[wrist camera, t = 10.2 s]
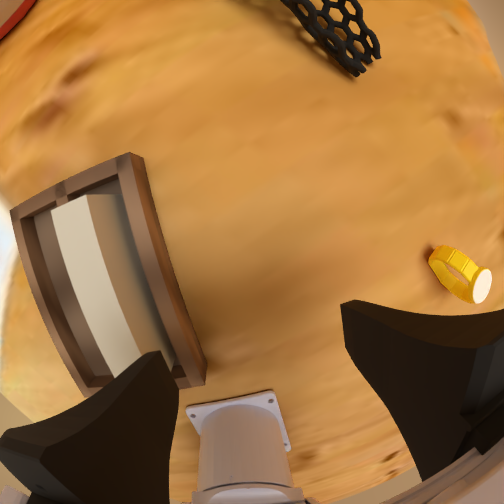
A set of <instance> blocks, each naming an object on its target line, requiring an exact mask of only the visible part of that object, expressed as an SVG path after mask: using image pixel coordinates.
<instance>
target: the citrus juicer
mask: <svg viewBox="0 0 504 504" xmlns="http://www.w3.org/2000/svg"><path fill="white" fill-rule="evenodd" d="M35 1H36V0H0V39H2V38H3V37H4V36H5V35H6V34H7V33H8V32H9V31H10V30H11V29H12V28H13V27H14V26H15V25H16V24H17V23H18V22H19V21H20V20H21V19H22V18H23V17H24V16H25V15H26V13H27V11H28V10H29V9H30V7H31V6H32V5H33V3H34V2H35Z"/></svg>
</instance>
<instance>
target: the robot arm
mask: <svg viewBox="0 0 504 504" xmlns="http://www.w3.org/2000/svg"><path fill="white" fill-rule="evenodd" d="M340 307H341V315H342V323H343V331H344V340H345V348H346V349H347V351H348V353H349V355H350V357H351V359H352V361H353V362H354V364H355V366H356V367H357V368H358V370H359V371H360V372H361V374H362V375H363V376H364V378H365V379H366V380H367V381H368V383H369V384H370V385H371V387H372V388H373V389H374V391H375V392H376V393H377V394H378V396H379V397H380V398H381V400H382V401H383V402H384V404H385V405H386V407H387V408H388V410H389V412H390V414H391V415H392V417H393V419H394V421H395V423H396V424H397V426H398V428H399V430H400V432H401V434H402V436H403V438H404V440H405V442H406V444H407V446H408V448H409V450H410V453H411V455H412V457H413V459H414V462H415V464H416V466H417V469H418V471H419V474H420V477H421V479H422V483H420V484H418V485H416V486H415V487H413V488H411V489H409V490H408V491H405V492H403V493H401V494H399V495H397V496H395V497H393V498H391V499H389V500H387V501H384V502H382V503H380V504H504V309H502V310H498V311H493V312H487V313H481V314H473V315H456V316H441V315H428V314H419V313H413V312H407V311H402V310H397V309H393V308H389V307H385V306H381V305H377V304H373V303H369V302H365V301H360V300H352V301H349V302H346V303H343V304H340ZM269 399H273V400H269ZM178 406H179V388H178V386H177V384H176V382H175V380H174V378H173V376H172V374H171V372H170V370H169V367H168V365H167V363H166V361H165V359H164V357H163V355H162V352H161V350H158V351H152V352H147V353H145V354H144V355H142V356H141V357H139V358H138V359H137V360H136V361H135V362H133V363H132V364H131V365H130V366H129V367H127V368H126V369H125V370H124V371H123V372H122V373H120V374H119V375H118V376H117V377H116V378H114V379H113V380H112V381H111V382H109V383H108V384H107V385H105V386H104V387H103V388H102V389H100V390H99V391H98V392H96V393H95V394H94V395H92V396H91V397H89V398H88V399H86V400H84V401H83V402H81V403H79V404H78V405H76V406H74V407H72V408H70V409H68V410H66V411H64V412H62V413H60V414H58V415H56V416H53V417H51V418H48V419H46V420H43V421H40V422H37V423H33V424H30V425H26V426H22V427H17V428H11V429H8V430H6V431H5V432H4V434H3V435H2V436H1V438H0V461H1V462H2V463H3V465H4V466H5V467H6V468H7V469H8V470H9V471H10V472H11V473H12V474H13V475H14V476H15V477H16V478H17V479H18V480H19V481H20V482H21V483H22V484H23V485H24V486H25V487H27V488H28V489H29V490H30V491H31V492H32V493H31V495H30V497H28V496H27V495H25V494H24V493H22V492H20V491H18V490H16V489H14V488H12V487H10V486H8V485H5V487H4V489H3V491H2V493H1V495H0V504H170V502H169V459H170V451H171V446H172V440H173V435H174V430H175V425H176V419H177V414H178ZM186 414H187V415H188V417H189V419H190V421H191V422H192V424H193V426H194V427H195V429H196V431H197V432H198V434H199V436H200V450H199V465H198V480H197V491H193V492H192V503H189V502H182V503H181V504H322V503H320V502H319V501H318V500H316V499H315V498H313V497H309V498H304V495H303V491H302V488H294V484H293V480H292V476H291V471H290V467H289V463H288V459H287V455H286V452H288V451H290V450H291V445H290V442H289V439H288V435H287V432H286V429H285V425H284V422H283V419H282V415H281V412H280V409H279V405H278V402H277V399H276V395H275V393H274V392H273V391H265V392H261V393H257V394H252V395H248V396H243V397H238V398H234V399H228V400H223V401H218V402H212V403H206V404H200V405H193V406H188V407H186ZM192 414H195V415H192Z"/></svg>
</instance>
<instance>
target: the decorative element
mask: <svg viewBox="0 0 504 504" xmlns="http://www.w3.org/2000/svg"><path fill="white" fill-rule="evenodd" d="M280 1H281V2H282V3H283V4H284V5H286V6H287V7H288V8H289V9H290V10H291V11H292V12H293V13H294V15H295V16H296V17H297V18H298V20H299V21H300V23H301V24H302V26H303V27H304V28H305V29H306V30H307V32H308V33H309V34H310V35H311V36H312V37H313V38H314V39H316V40H317V41H318V42H319V43H320V44H321V45H322V46H323V47H324V48H326V49H327V51H328V52H329V53H330V54H331V56H332V57H333V58H334V59H335V60H336V61H337V62H338V63H339V64H340V65H342V66H343V67H344V68H345V69H346V70H347V71H349V72H350V73H351V74H352V75H353V76H355V77H358V76H359V75H360V72H361V73H364V72H366V71H367V70H366V68H365V67H364V66H363V65H362V63H361V60H364V61H366V63H367V64H370V63H372V62H373V61H372V59H371V55H373V56H374V58H375V59H380V58H381V55H380V44H379V42H378V39H377V37H376V35H375V34H374V32H373V31H372V30H370V29H369V28H367V26H366V24H365V23H364V21H363V9H362V7H361V6H360V4H359V3H358V1H357V0H338V2H332V1H329V0H321V1H322V2H323V3H324V5H323V8H322V10H321V11H320V10H316V8H315V6H314V5H313V4H312V2H311V1H309V0H280ZM346 1H349V2H351V4H352V5H353V7H354V8H355V10H356V14H355V15H352V14H350V13H349V12H348V10H347V9H346V7H345V2H346ZM298 4H302V5H303V6H304V8H305V9H306V10H307V12H308V16H305V15H304V13H303V12H302V11H301V10H300V9H299V7H298ZM330 7H332V8H336V9H339V10H340V12H341V13H342V15H343V19H342V22H338V21H334V20H333V19H332V18H331V16H330V15H329V11H330ZM317 16H321V17H323V18H324V20H325V21H326V22H327V24H328V26H327V29H323V28H322V26H321V25H320V24H319V23H318V22H317ZM350 20H351V21H354V22H356V23H357V24H358V26H359V28H360V35H357V34H354V33H353V32H352V31H351V29H350V28H349V26H348V25H349V22H350ZM335 27H337V28H341V29H343V31H344V32H345V33H346V35H347V40H346V41H343V40H341V39H340V38H339V36H338V35H336V34H335V33H334V28H335ZM367 35H368V36H369V37H370V39H371V42H372V44H373V48H372V47H370V45H369V43H368V41H367V40H366V38H367ZM327 38H330V39H331V40H332V41H333V43H334V46H335V47H334V46H333V45H332V44H331V43H330V42H329V41H328V39H327ZM354 40H356V41H359V42H361V44H362V46H363V47H364V49H365V50H364V54H363V53H360V52H358V51H357V49H356V48H355V47H354V46H353V42H354ZM346 48H348V50H349V51H350V52H351V53H352V54H353V59H352V58H350V57H349V56H348V55H347V54H346Z"/></svg>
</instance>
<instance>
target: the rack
mask: <svg viewBox="0 0 504 504" xmlns="http://www.w3.org/2000/svg"><path fill="white" fill-rule="evenodd" d="M99 194H122V197H123V201H124V205H125V209H126V213H127V217H128V221H129V224H130V228H131V231H132V235H133V238H134V242H135V245H136V248H137V252H138V255H139V258H140V261H141V264H142V267H143V270H144V273H145V276H146V279H147V282H148V285H149V288H150V291H151V294H152V296H153V299H154V302H155V304H156V307H157V310H158V312H159V315H160V318H161V320H162V323H163V325H164V328H165V330H166V333H167V335H168V337H169V340H170V342H171V345H172V347H173V349H174V352H175V354H176V357H175V360H174V363H173V367H172V370H171V374H172V376H173V378H174V380H175V382H176V384H177V386H178V388H179V389H185V388H191V387H197V386H203V385H205V380H206V370H207V362H206V360H205V357H204V355H203V352H202V350H201V347H200V344H199V342H198V339H197V337H196V334H195V331H194V329H193V326H192V323H191V320H190V318H189V315H188V312H187V309H186V306H185V304H184V301H183V298H182V295H181V292H180V289H179V286H178V283H177V280H176V277H175V274H174V271H173V268H172V264H171V261H170V258H169V255H168V251H167V248H166V245H165V241H164V238H163V234H162V231H161V227H160V224H159V220H158V217H157V213H156V209H155V205H154V201H153V198H152V194H151V190H150V185H149V181H148V177H147V173H146V169H145V164H144V160H143V158H142V157H140V156H138V155H135V154H133V153H131V152H128V153H125V154H123V155H120V156H118V157H115V158H113V159H110V160H108V161H105V162H103V163H101V164H98V165H96V166H94V167H91V168H89V169H87V170H85V171H82V172H80V173H78V174H76V175H74V176H72V177H70V178H68V179H66V180H63V181H61V182H59V183H58V184H56V185H54V186H52V187H50V188H48V189H46V190H44V191H42V192H40V193H39V194H37V195H35V196H33V197H31V198H30V199H28V200H26V201H24V202H23V203H21V204H19V205H18V206H16V207H14V208H13V209H11V210H10V215H11V220H12V225H13V229H14V234H15V238H16V242H17V246H18V250H19V253H20V257H21V260H22V264H23V267H24V270H25V273H26V276H27V279H28V282H29V285H30V288H31V291H32V293H33V296H34V299H35V301H36V304H37V306H38V309H39V311H40V314H41V316H42V319H43V321H44V323H45V325H46V328H47V330H48V332H49V334H50V336H51V338H52V340H53V343H54V345H55V347H56V349H57V351H58V352H59V354H60V356H61V358H62V360H63V362H64V364H65V366H66V367H67V369H68V371H69V373H70V374H71V376H72V378H73V380H74V381H75V383H76V385H77V386H78V388H79V389H80V391H81V393H82V394H83V396H84V397H91V396H92V395H94V394H95V393H96V392H98V391H99V390H100V389H102V388H103V387H104V386H105V385H107V384H108V383H109V382H111V381H112V380H113V379H114V378H115V377H114V375H113V374H112V372H111V370H110V368H109V366H108V364H107V363H106V361H105V359H104V357H103V355H102V353H101V351H100V349H99V347H98V345H97V343H96V341H95V338H94V336H93V334H92V332H91V330H90V328H89V325H88V323H87V321H86V318H85V316H84V314H83V311H82V309H81V306H80V304H79V301H78V299H77V296H76V294H75V291H74V288H73V286H72V283H71V280H70V277H69V274H68V271H67V268H66V265H65V262H64V259H63V256H62V252H61V249H60V245H59V242H58V238H57V235H56V231H55V227H54V223H53V219H52V214H51V210H53V209H55V208H57V207H59V206H62V205H64V204H66V203H68V202H70V201H73V200H75V199H77V198H79V197H82V196H84V195H99Z"/></svg>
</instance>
